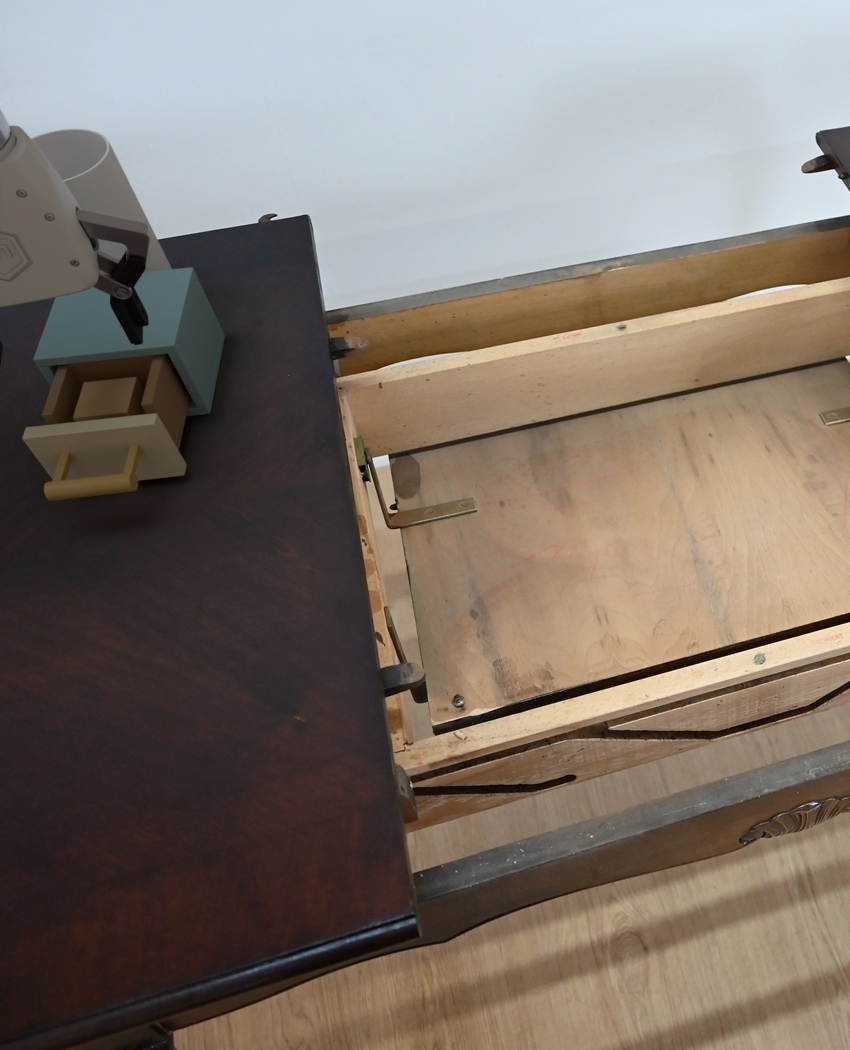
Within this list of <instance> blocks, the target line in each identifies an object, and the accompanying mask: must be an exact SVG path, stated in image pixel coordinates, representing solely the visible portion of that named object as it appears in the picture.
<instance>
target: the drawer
mask: <svg viewBox="0 0 850 1050" xmlns="http://www.w3.org/2000/svg"><path fill="white" fill-rule="evenodd" d="M130 377H137V379H138V381H139V382H140V384H141V386H142V387H143V389H144V395H143V399H142V403H141V405H142V407H143V409H144V410H145V412H146V414H144V415H135V416H126V417H117V418H108V419H99V420H89V421H80V422H75V421H74V419H73V416H74V412H75V409H76V406H77V403H78V400H79V396H80V393H81V390H82V387H83V383H84V382H92V381H101V380H111V379H120V378H130ZM189 401H190V394H189V392H188V390H187V388H186V386H185V384H184V383H183V381H182V379H181V377H180V375H179V373H178V371H177V370H176V368H175V366H174V364H173V362H172V360H171V358H170V356H169V355H168V354H159V355H150V356H140V357H130V358H121V359H111V360H102V361H92V362H82V363H73V364H63V365H58V368H57V371H56V374H55V377H54V380H53V383H52V386H50V388H49V392H48V395H47V398H46V401H45V403H44V407H43V410H42V412H41V417H42V418H43V420H44V421H45V423H46V424H45V425H36V426H26V427H25V429H24V432H23V435H22V437H21V439H22V441H23V442H24V444H25V445H26V446H27V447H28V448H29V450H30V451H31V453H32V454H33V455H34V457H35V458H36V459H37V460H38V462H39V463H40V465H41V466H42V467H43V469H44V470H45V471H46V473H47V474H48V476H49V477H50V478H51V479H52V480H51V481H47V482H45V483H44V486H43V493H44V496H45V498H46V500H48V501H50V502H53V501H63V500H71V499H79V498H88V497H89V498H90V497H96V496H97V497H98V496H106V495H114V494H123V493H131V492H137V491H138V488H139V481H149V480H155V479H164V478H165V479H166V478H174V477H182V476H185V475H186V471H187V466H188V465H187V462H186V461H185V459H184V457H183V455H182V454H181V452H180V446H181V443H182V438H183V437H182V436H183V433H184V428H185V423H186V419H187V416H186V415H187V410H188V405H189Z"/></svg>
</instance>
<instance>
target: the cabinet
mask: <svg viewBox="0 0 850 1050" xmlns="http://www.w3.org/2000/svg"><path fill="white" fill-rule="evenodd" d="M134 288H135V290H136V292H137V294H138V296H139V298H140V300H141V302H142V304H143V306H144V308H145V310H146V312H147V315H148V320H149V324H148V326H143V344H140V345H134V344H131V343H130V341H129V339H128V337H127V336H126V334H125V332H124V330H123V328H122V326H121V325H120V323H119V321H118V319H117V317H116V316H115V314H114V312H113V310H112V308H111V306H110V295H109V294H107V293H105V292H103V291H101V290H99V289H97V288H95V287H91V288H89V289H88V290H85V291H82V292H79V293H75V294H71V295H66V296H61V297H55V299H54V301H53V304H52V306H51V309H50V312H49V315H48V317H47V320H46V323H45V325H44V328H43V331H42V333H41V336H40V339H39V342H38V345H37V348H36V351H35V353H34V356H33V359H32V361H33V363H34V364H35V365H36V367H37V369H38V370H39V372H40V373H41V374H42V377H44V379H45V380H46V382H47V383H48V385H49V386H50V387H51V386H52V383H53V380H54V377H55V374H56V371H57V368H58V365H63V364H73V363H82V362H92V361H102V360H111V359H121V358H130V357H140V356H150V355H159V354H168V355H169V356H170V358H171V360H172V362H173V364H174V366H175V368H176V370H177V371H178V373H179V375H180V377H181V379H182V381H183V383H184V384H185V386H186V388H187V390H188V392H189V394H190V401H189V405H188V410H187V415H186V417H193V416H194V417H195V416H203V415H210V414H211V411H212V406H213V401H214V396H215V390H216V385H217V379H218V376H219V375H218V374H219V369H220V364H221V360H222V354H223V349H224V345H225V339H226V335H225V332H224V330H223V328H222V326H221V324H220V322H219V319H218V318H217V315H216V314H215V311H214V309H213V307H212V305H211V303H210V301H209V298H208V296H207V294H206V292H205V290H204V288H203V286H202V283H201V281H200V280H199V277H198V275H197V273H196V271H195V269H194V267H192V266H191V267H182V268H172V269H170V270H159V271H149V272H143V274H142V276H141V277H140V279H139V280H138V282H137V283H136V285H135V286H134Z"/></svg>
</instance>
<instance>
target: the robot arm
mask: <svg viewBox="0 0 850 1050" xmlns="http://www.w3.org/2000/svg"><path fill="white" fill-rule="evenodd" d="M31 138H32V137H30V135H28V134H27V132H26V131H25V130H24V129H23V127H21V126H19V125H10V123H9V121H8V120H7V117H6V116H5V114H4V112H3V110H2V109H1V108H0V308H5V307H11V306H16V305H23V304H29V303H33V302H38V301H44V300H45V301H46V300H49V299H54V298H56V297H61V296H66V295H71V294H75V293H79V292H82V291H85V290H88V289H89V288H91V287H95V288H97V289H99V290H101V291H103V292H105V293H107V294H109V295H110V306H111V308H112V310H113V312H114V314H115V316H116V317H117V319H118V321H119V323H120V325H121V326H122V328H123V330H124V332H125V334H126V336H127V337H128V339H129V341H130V343H131V344H134V345H140V344H143V326H148V324H149V320H148V315H147V312H146V310H145V308H144V306H143V304H142V302H141V300H140V298H139V296H138V294H137V292H136V290H135V288H134V286H135V285H136V283H137V282H138V280H139V279H140V277H141V276H142V274H143V272H144V271H145V269H146V260H147V254H148V248H149V241H150V230H149V227H148V225H146V224H144V223H141V222H136V221H132V220H127V219H122V218H117V217H112V216H107V215H102V214H97V213H93V212H88V211H83V210H82V209H81V207H80V206H79V204H78V202H77V201H76V199H75V198H74V196H73V195H72V193H71V192H70V190H69V188H68V187H67V185H66V184H65V182H64V181H63V180H62V178H61V177H60V175H59V174H58V172H57V171H56V170H55V168H54V167H53V166H52V164H51V163H50V162H49V160H48V159H47V158H46V156H45V155H44V154H43V153H42V151H41V150H40V149H39V148H38V146H37V145H36V144H35V143H34V142H33V140H32V139H31ZM98 239H101V240H106V241H111V242H116V243H121V244H124V245H125V246H126V247H127V250H126V252H125V253H124V255H123V256H122V258H121V260H118V259H116V258H114V257H112V256H110V255H108V254H106V253H104V252H102V251H100V250H99V242H98ZM3 350H4V345H3V343H2V341H1V340H0V367H1V365H2V358H3Z"/></svg>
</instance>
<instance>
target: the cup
mask: <svg viewBox="0 0 850 1050" xmlns="http://www.w3.org/2000/svg"><path fill="white" fill-rule="evenodd" d="M30 138H31V139H32V140H33V142H34V143H35V144H36V145H37V146H38V148H39V149H40V150H41V151H42V153H43V154H44V155H45V156H46V158H47V159H48V160H49V162H50V163H51V164H52V166H53V167H54V168H55V170H56V171H57V172H58V174H59V175H60V177H61V178H62V180H63V181H64V182H65V184H66V185H67V187H68V188H69V190H70V192H71V193H72V195H73V196H74V198H75V199H76V201H77V202H78V204H79V206H80V207H81V209H82V210H83V211H88V212H93V213H97V214H102V215H107V216H112V217H117V218H122V219H127V220H132V221H136V222H141V223H144V224H146V225H148V227H149V230H150V241H149V248H148V254H147V260H146V269H145V271H144V272H149V271H159V270H170V269H173V268H172V265H171V264H170V262H169V260H168V257H167V255H166V253H165V252H164V250H163V247H162V246H161V244H160V242H159V239H158V237H157V236H156V233H155V232H154V230H153V227H152V225H151V224H150V222H149V219H148V218H147V216H146V213H145V211H144V209H143V207H142V205H141V203H140V201H139V199H138V196H137V195H136V193H135V191H134V189H133V186H132V185H131V183H130V181H129V179H128V177H127V175H126V173H125V171H124V169H123V166H122V165H121V163H120V160H119V159H118V157H117V155H116V152H115V151H114V149H113V147H112V144H111V143H110V141H109V140H108V138H107V137H106V136H105V135H104V134H102V133H100V132H98V131H95V130H91V129H85V128H64V129H57V130H52V131H48V132H44V133H41V134H37V135H35V136H33V137H30ZM98 242H99V250H100V251H102V252H104V253H106V254H108V255H110V256H112V257H114V258H116V259H118V260H121V258H122V256H123V255H124V253H125V252H126V250H127V247H126V246H125V245H124V244H121V243H116V242H111V241H106V240H101V239H98Z"/></svg>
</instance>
